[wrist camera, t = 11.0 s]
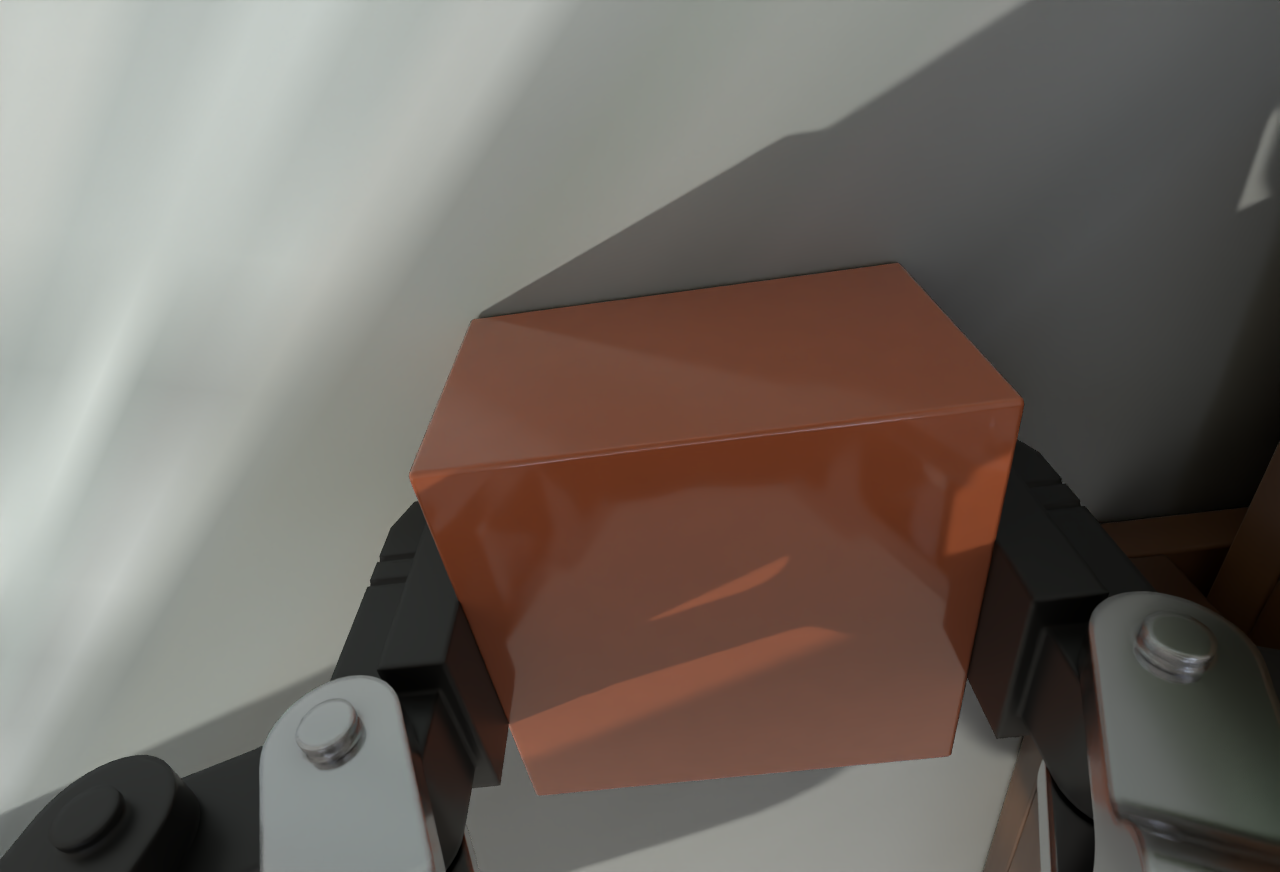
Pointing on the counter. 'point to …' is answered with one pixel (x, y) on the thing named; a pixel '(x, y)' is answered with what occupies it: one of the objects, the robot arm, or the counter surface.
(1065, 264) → the counter surface
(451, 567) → the rust orange brick
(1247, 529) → the drawer
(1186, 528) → the cabinet
